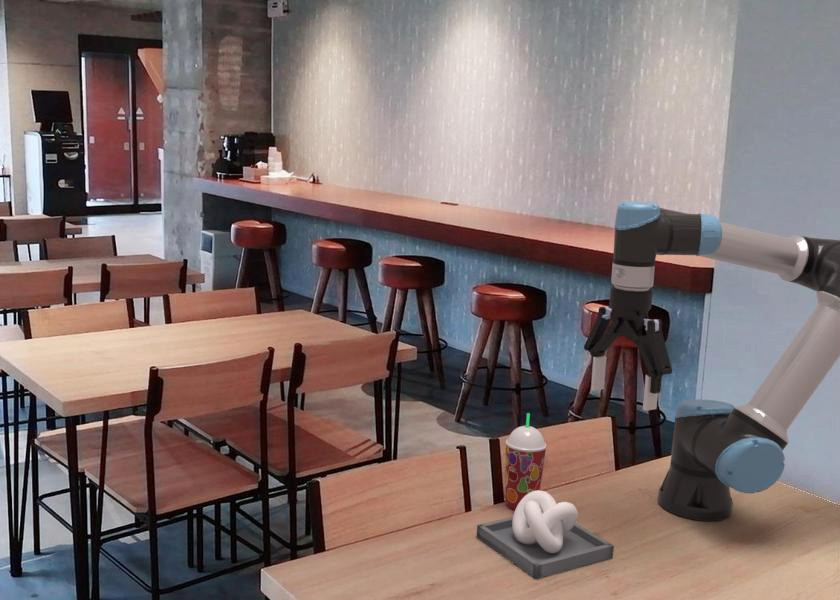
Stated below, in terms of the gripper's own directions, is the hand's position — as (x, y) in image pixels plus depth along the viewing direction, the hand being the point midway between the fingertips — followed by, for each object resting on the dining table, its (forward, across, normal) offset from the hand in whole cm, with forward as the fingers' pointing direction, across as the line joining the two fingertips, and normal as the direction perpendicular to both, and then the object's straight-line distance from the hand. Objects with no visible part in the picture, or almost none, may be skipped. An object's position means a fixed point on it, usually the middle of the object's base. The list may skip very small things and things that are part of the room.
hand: (622, 399), depth 169 cm
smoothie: (+28, -20, -6) cm, 35 cm away
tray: (+28, -3, -14) cm, 31 cm away
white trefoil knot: (+27, -3, -14) cm, 31 cm away
